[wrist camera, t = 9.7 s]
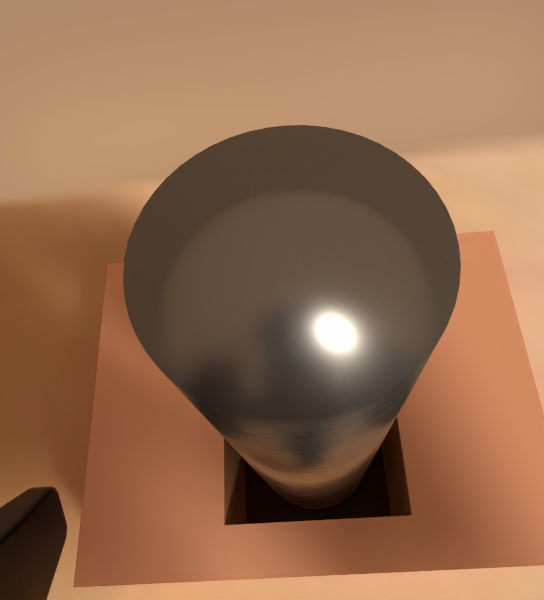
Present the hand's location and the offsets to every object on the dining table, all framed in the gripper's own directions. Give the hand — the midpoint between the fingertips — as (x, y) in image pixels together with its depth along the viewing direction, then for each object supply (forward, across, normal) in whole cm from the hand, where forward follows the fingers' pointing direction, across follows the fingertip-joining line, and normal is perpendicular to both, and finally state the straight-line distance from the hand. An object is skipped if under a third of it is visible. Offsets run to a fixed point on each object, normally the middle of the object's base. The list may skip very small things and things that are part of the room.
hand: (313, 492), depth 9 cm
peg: (+7, 0, +4) cm, 9 cm away
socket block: (+8, 0, +4) cm, 9 cm away
